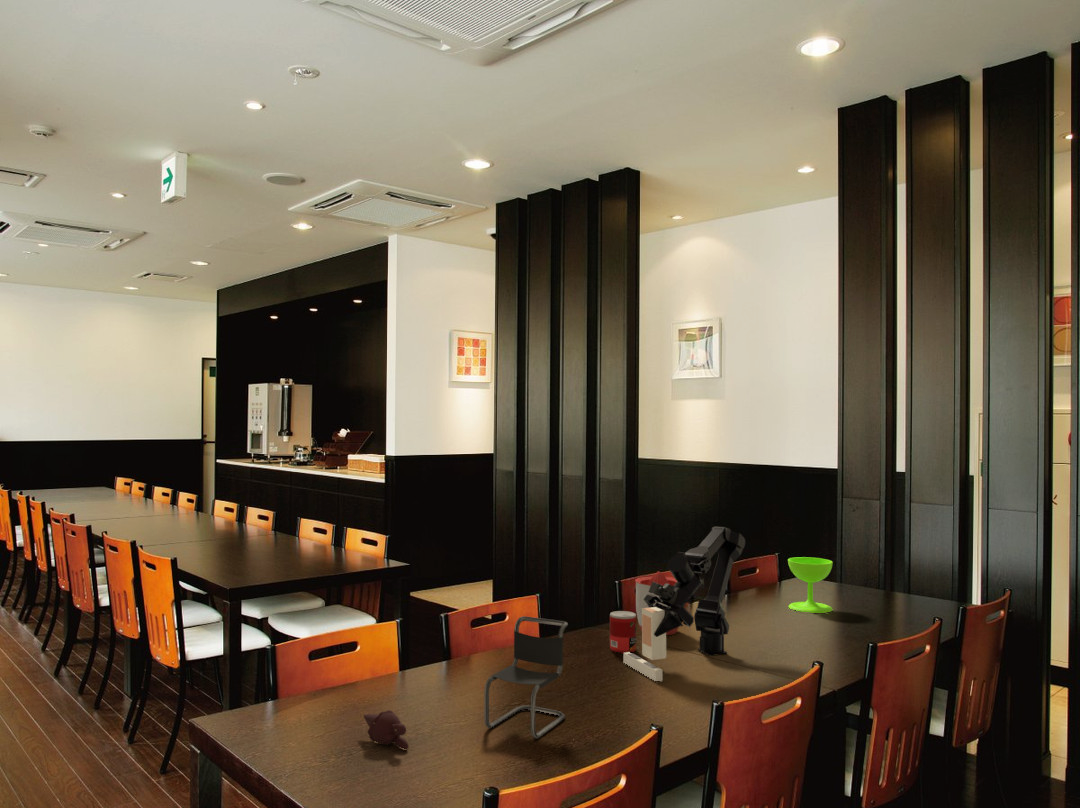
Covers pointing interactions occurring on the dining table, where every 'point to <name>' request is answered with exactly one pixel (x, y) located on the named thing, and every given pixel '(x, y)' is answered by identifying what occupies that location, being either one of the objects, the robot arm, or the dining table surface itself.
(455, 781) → the dining table surface
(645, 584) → the citrus juicer
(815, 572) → the wineglass
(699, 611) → the robot arm
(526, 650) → the chair
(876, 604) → the dining table surface
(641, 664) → the rail
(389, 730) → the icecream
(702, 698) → the dining table surface
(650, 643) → the carton
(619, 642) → the canned food
